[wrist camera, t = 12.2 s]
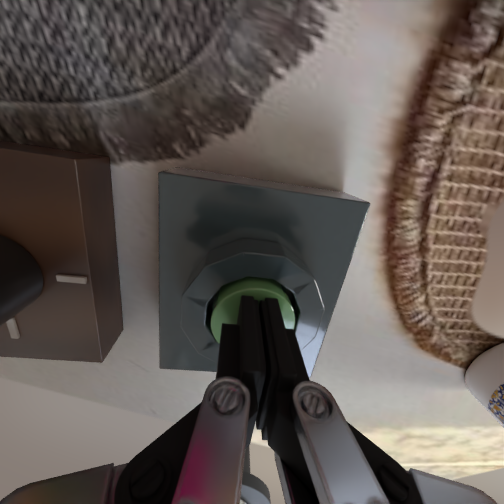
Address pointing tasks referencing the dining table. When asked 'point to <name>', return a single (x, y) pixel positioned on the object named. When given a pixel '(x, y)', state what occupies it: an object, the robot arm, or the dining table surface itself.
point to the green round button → (248, 286)
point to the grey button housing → (248, 255)
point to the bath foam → (488, 381)
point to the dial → (17, 279)
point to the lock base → (62, 252)
